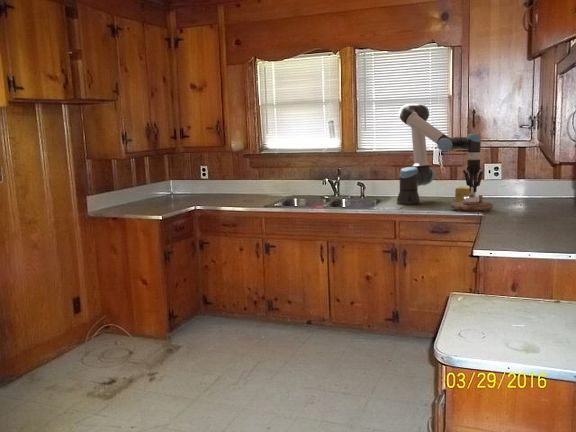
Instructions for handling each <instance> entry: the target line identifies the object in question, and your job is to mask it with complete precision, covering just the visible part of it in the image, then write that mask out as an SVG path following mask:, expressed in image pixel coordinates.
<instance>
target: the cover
mask: <svg viewBox="0 0 576 432" xmlns="http://www.w3.org/2000/svg"><path fill="white" fill-rule="evenodd" d="M463 204H464V205H470V206H474V205H479V197H478V195H475V196H474V194H469V196H464V197H463Z"/></svg>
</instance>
